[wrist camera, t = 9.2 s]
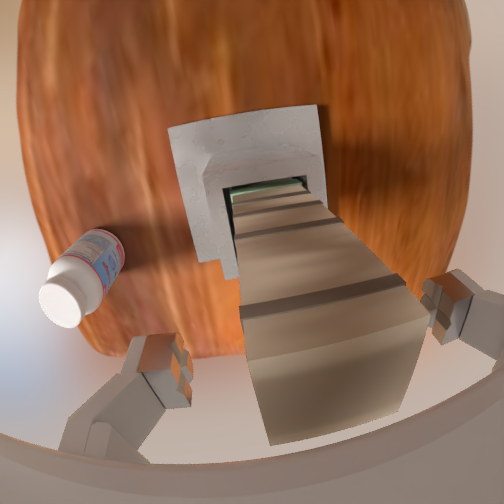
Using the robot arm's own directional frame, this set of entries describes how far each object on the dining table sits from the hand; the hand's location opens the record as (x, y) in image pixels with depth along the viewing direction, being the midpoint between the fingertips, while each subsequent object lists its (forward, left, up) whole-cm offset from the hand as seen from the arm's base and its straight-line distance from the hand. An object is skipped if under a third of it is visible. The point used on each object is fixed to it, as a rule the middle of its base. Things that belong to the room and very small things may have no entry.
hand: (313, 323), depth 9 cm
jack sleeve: (0, 0, -22) cm, 22 cm away
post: (0, 0, -14) cm, 14 cm away
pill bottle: (-12, -14, -22) cm, 29 cm away
